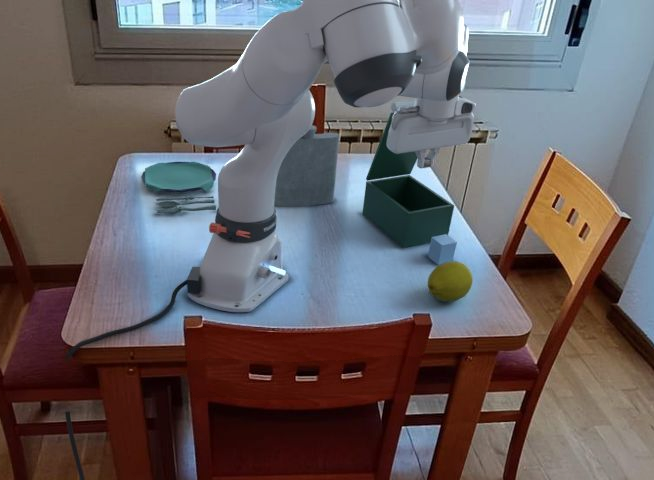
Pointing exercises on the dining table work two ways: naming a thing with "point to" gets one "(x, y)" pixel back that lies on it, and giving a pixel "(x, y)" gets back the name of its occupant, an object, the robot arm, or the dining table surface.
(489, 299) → the dining table surface
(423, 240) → the bin
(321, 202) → the hip flask
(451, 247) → the block
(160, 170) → the cutlery set
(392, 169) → the bin lid
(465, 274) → the lemon
